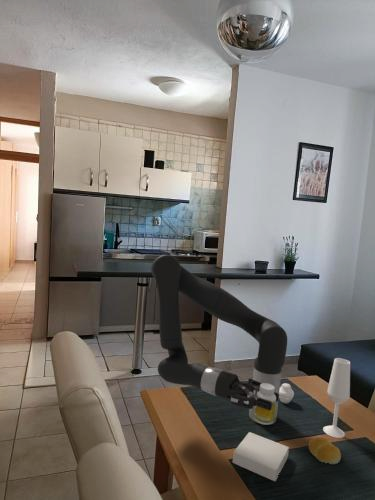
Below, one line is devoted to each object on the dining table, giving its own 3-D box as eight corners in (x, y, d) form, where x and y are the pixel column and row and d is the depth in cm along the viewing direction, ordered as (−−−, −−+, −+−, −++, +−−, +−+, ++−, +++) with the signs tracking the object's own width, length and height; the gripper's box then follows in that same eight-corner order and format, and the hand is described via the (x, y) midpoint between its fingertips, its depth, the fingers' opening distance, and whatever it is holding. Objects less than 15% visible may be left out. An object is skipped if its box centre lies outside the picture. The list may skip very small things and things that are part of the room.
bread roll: (324, 468, 100) (326, 454, 99) (303, 448, 108) (305, 435, 108) (347, 463, 103) (349, 449, 102) (325, 444, 111) (326, 431, 111)
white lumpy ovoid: (284, 406, 132) (286, 388, 131) (273, 398, 137) (274, 381, 137) (296, 403, 135) (298, 385, 134) (284, 396, 140) (286, 378, 140)
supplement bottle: (273, 427, 96) (277, 392, 96) (253, 423, 98) (257, 388, 97) (273, 416, 102) (277, 383, 101) (254, 412, 103) (257, 380, 102)
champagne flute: (340, 440, 113) (349, 366, 111) (319, 430, 118) (327, 360, 116) (347, 432, 118) (356, 361, 116) (327, 423, 123) (335, 355, 121)
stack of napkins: (248, 441, 109) (249, 431, 108) (287, 457, 103) (288, 447, 102) (232, 462, 98) (233, 452, 98) (275, 481, 92) (276, 470, 92)
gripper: (209, 378, 100) (268, 398, 91) (230, 363, 112) (284, 380, 104) (207, 404, 101) (265, 426, 92) (228, 386, 113) (281, 404, 104)
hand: (275, 401), depth 98 cm, fingers closed on supplement bottle, 5 cm apart
